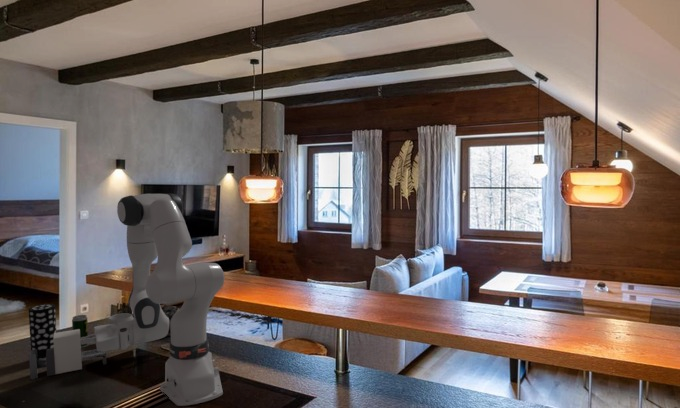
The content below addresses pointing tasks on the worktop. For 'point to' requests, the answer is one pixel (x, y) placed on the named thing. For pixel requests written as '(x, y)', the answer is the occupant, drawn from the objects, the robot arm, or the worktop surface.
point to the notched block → (67, 351)
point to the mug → (120, 318)
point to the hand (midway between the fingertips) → (80, 341)
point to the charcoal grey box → (50, 362)
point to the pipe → (41, 363)
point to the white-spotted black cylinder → (42, 328)
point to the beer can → (81, 326)
